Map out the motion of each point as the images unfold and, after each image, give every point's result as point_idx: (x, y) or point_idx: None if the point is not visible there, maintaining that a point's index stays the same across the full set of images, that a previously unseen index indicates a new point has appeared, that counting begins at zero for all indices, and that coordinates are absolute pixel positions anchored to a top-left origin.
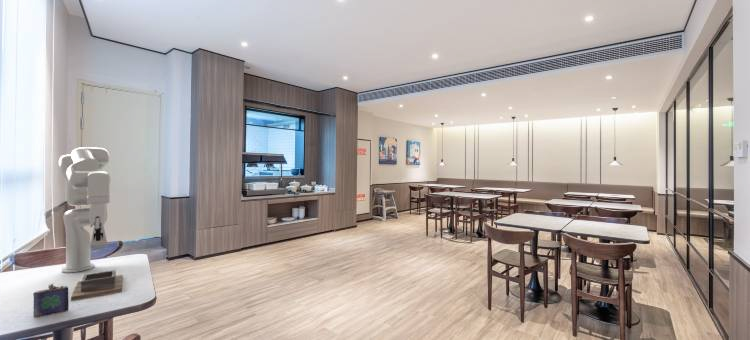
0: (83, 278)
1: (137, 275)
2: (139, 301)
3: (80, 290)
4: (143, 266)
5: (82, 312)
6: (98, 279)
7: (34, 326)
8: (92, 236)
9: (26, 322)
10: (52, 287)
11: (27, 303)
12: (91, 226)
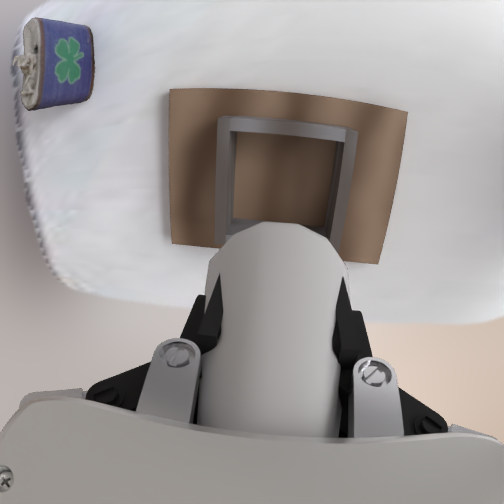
0: (279, 126)
1: (361, 300)
2: (66, 267)
3: (242, 112)
4: (459, 322)
5: (48, 143)
6: (216, 185)
7: None
8: (245, 296)
9: None
10: (20, 67)
11: None
12: (187, 425)
